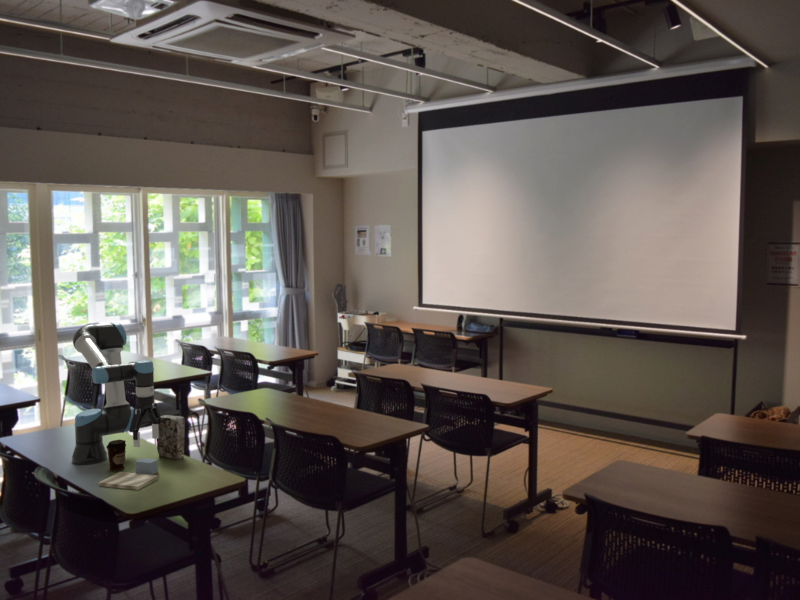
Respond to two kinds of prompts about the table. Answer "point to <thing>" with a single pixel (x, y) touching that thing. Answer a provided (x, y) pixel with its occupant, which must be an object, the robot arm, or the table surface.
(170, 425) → the stone block
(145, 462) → the block
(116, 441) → the coffee cup
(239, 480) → the table surface
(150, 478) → the board
